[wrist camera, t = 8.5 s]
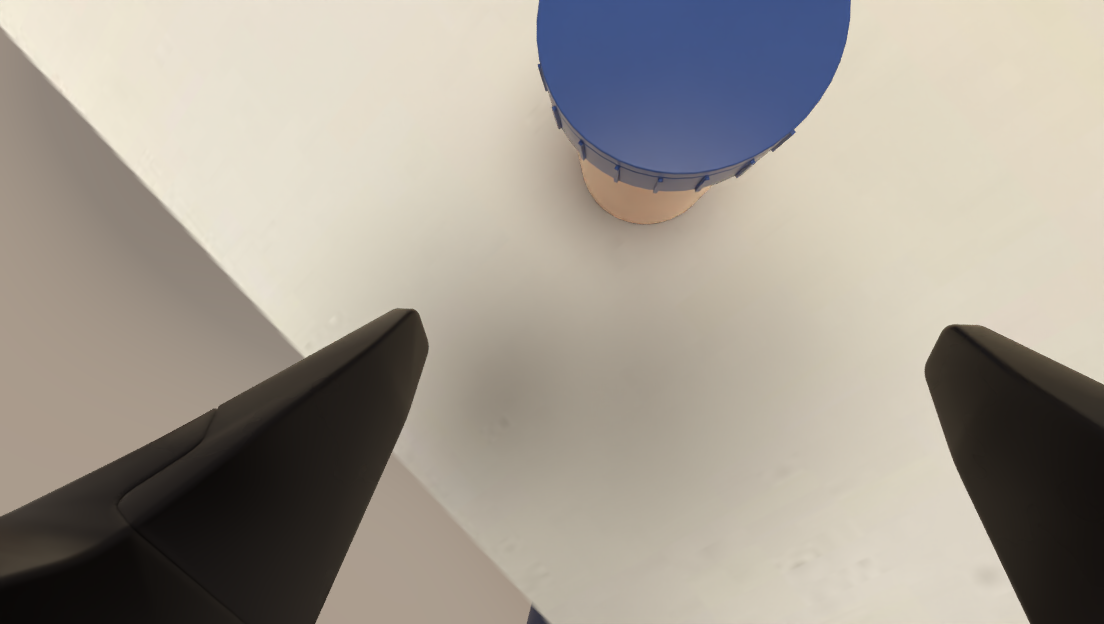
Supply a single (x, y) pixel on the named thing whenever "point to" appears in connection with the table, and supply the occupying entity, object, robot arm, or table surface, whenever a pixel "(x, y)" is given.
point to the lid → (685, 81)
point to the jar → (636, 198)
